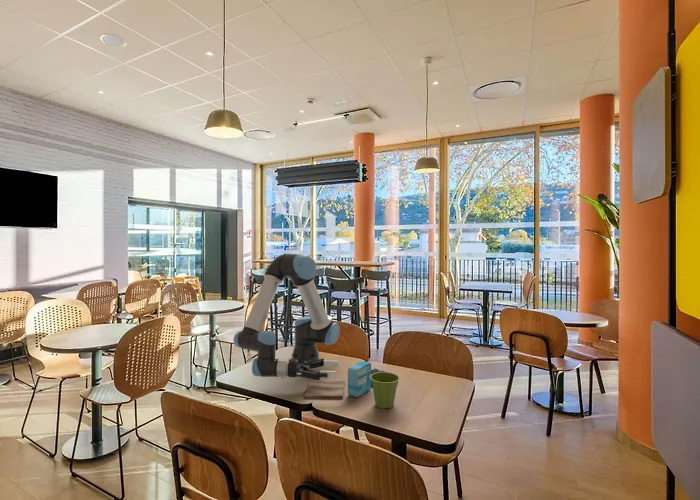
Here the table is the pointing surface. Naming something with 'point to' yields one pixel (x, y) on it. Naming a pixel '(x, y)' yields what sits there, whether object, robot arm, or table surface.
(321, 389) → the board
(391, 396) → the plant pot
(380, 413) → the table surface
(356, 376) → the light blue box
